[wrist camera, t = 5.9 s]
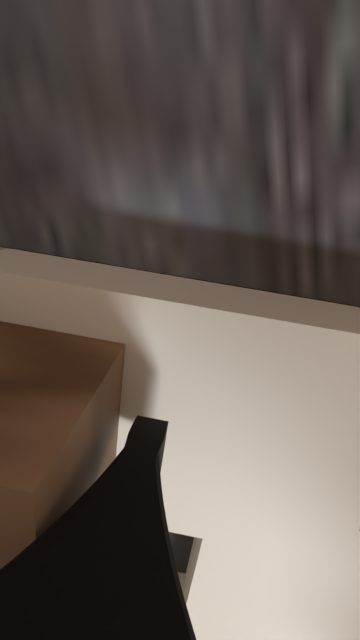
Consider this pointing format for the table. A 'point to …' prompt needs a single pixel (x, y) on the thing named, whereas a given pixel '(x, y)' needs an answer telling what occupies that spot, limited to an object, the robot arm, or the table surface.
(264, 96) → the table surface
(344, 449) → the trap board
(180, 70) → the table surface
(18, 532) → the walnut block
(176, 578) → the robot arm
